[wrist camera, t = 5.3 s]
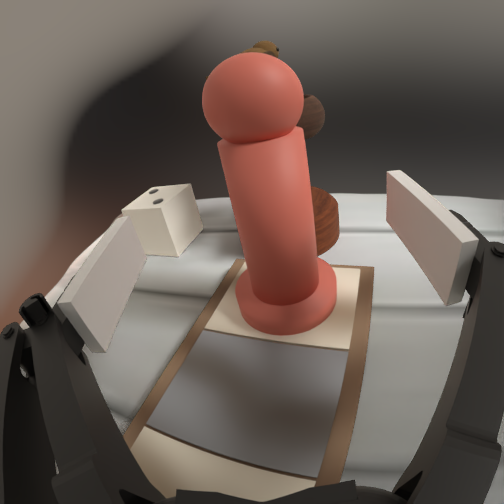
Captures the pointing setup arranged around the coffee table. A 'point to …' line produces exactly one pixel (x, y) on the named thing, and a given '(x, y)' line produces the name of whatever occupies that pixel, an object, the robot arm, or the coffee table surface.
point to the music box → (321, 200)
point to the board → (257, 399)
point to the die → (165, 219)
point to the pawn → (269, 193)
